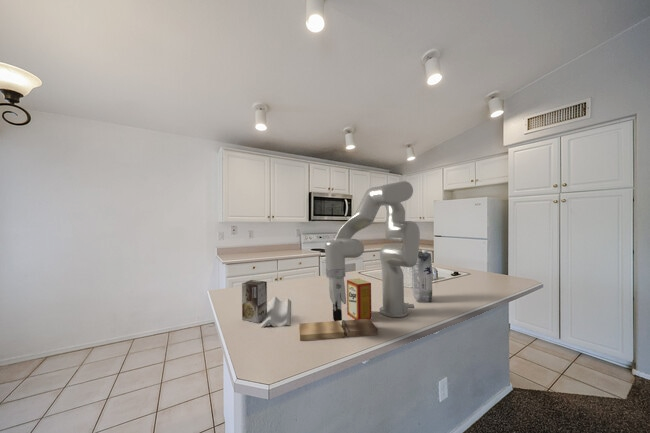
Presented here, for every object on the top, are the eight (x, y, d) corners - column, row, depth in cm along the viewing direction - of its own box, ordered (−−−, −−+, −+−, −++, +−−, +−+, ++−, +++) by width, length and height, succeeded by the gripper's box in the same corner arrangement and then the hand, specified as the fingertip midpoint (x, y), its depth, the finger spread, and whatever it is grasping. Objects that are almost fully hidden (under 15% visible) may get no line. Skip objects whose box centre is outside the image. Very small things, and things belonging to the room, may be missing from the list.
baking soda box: (347, 314, 110) (346, 279, 110) (359, 312, 112) (358, 277, 113) (358, 321, 101) (358, 283, 101) (371, 319, 104) (370, 282, 104)
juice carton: (415, 302, 124) (414, 250, 125) (411, 296, 135) (410, 248, 136) (433, 303, 123) (432, 250, 124) (428, 297, 133) (427, 248, 134)
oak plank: (338, 325, 97) (338, 320, 97) (344, 337, 87) (344, 331, 87) (299, 328, 95) (299, 323, 95) (300, 340, 85) (300, 335, 85)
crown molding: (289, 327, 98) (289, 318, 98) (259, 329, 96) (259, 320, 96) (290, 302, 129) (290, 295, 129) (267, 303, 127) (267, 296, 127)
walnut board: (369, 323, 99) (369, 318, 99) (377, 334, 89) (377, 328, 89) (341, 325, 97) (341, 320, 97) (347, 337, 87) (347, 330, 88)
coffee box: (267, 317, 106) (267, 281, 107) (257, 323, 100) (257, 284, 101) (251, 314, 110) (251, 279, 111) (241, 319, 104) (241, 282, 105)
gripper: (349, 276, 86) (351, 327, 86) (341, 268, 101) (342, 311, 101) (329, 277, 85) (331, 329, 85) (323, 269, 100) (325, 313, 99)
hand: (337, 319), depth 93 cm, fingers closed
